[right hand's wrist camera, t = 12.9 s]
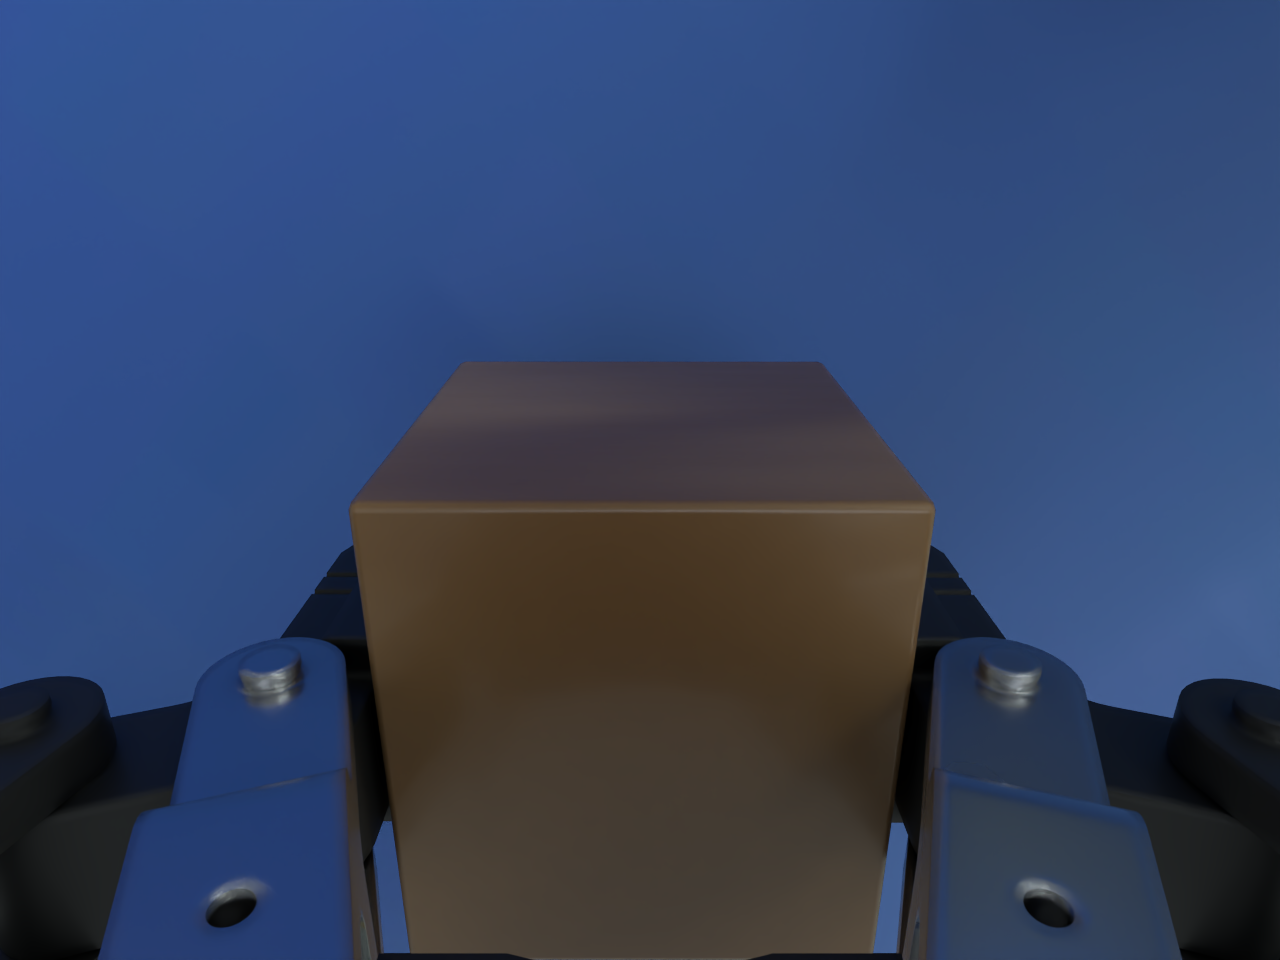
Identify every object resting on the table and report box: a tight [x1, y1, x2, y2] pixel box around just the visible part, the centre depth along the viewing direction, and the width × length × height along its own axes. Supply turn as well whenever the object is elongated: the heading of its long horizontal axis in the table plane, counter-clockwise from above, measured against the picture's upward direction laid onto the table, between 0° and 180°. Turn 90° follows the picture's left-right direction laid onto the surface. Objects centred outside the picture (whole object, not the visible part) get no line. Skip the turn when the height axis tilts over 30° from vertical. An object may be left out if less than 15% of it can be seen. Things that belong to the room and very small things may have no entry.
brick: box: [349, 362, 935, 960], centre depth 10 cm, size 5×5×5 cm
